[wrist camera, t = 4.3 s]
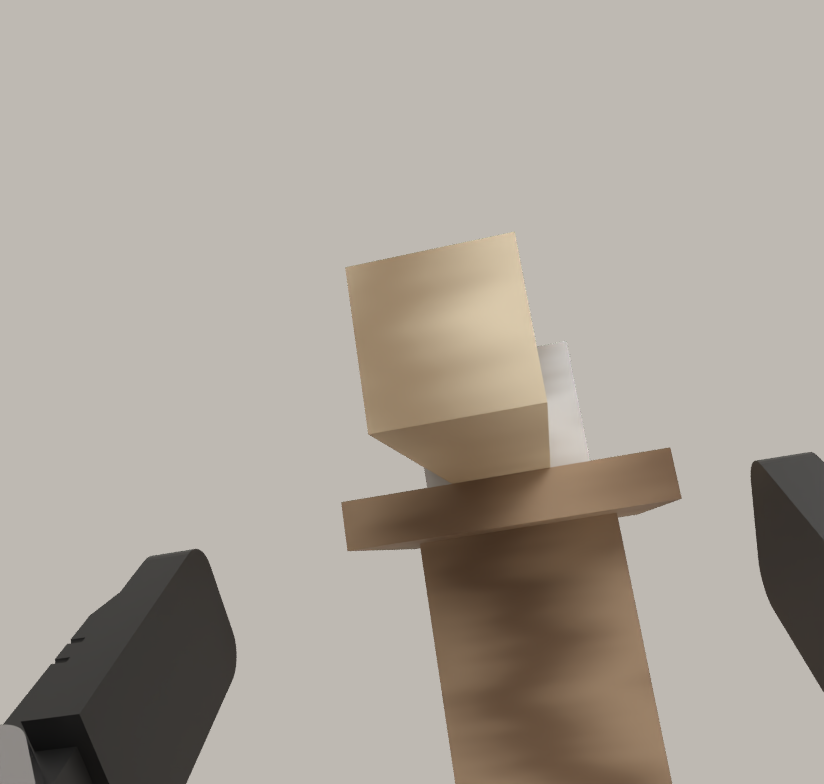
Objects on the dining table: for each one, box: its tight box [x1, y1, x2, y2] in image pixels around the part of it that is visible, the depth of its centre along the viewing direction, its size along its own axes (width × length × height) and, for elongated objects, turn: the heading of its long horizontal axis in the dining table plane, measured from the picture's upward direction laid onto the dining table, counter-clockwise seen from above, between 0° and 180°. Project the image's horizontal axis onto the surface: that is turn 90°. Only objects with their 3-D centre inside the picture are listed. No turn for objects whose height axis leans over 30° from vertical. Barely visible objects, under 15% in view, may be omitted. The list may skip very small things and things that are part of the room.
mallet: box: [345, 232, 590, 488], centre depth 24 cm, size 6×22×5 cm, turn 169°
